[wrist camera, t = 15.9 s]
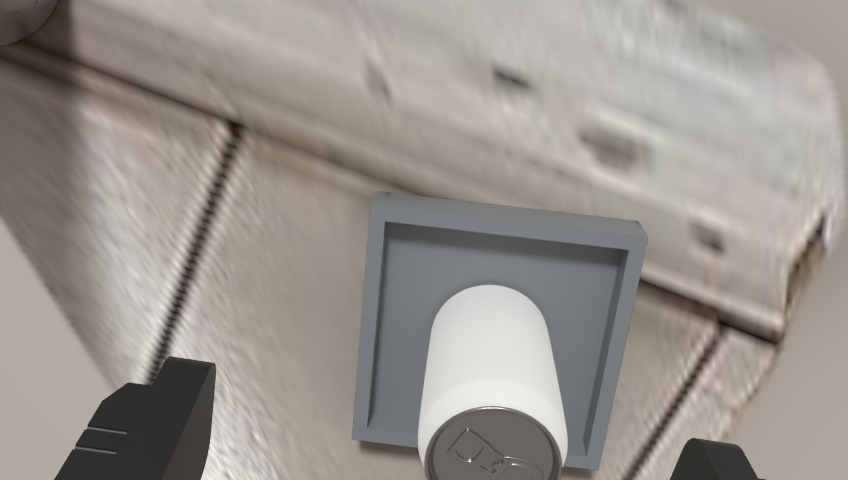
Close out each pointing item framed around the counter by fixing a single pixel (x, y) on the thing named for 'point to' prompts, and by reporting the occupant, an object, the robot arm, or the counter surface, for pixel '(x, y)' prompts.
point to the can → (491, 391)
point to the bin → (504, 266)
